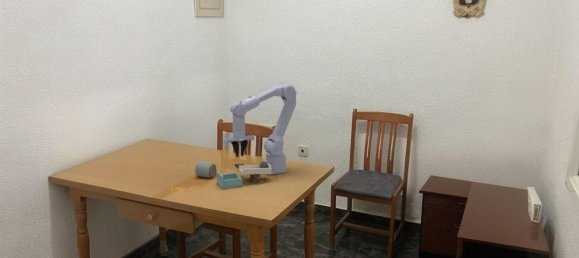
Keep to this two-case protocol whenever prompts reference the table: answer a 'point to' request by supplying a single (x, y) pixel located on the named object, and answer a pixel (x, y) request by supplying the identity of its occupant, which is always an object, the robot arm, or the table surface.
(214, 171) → the ceramic mug
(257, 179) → the lever stand
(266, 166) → the ball
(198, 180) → the table surface
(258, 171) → the cream piece
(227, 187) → the bin
